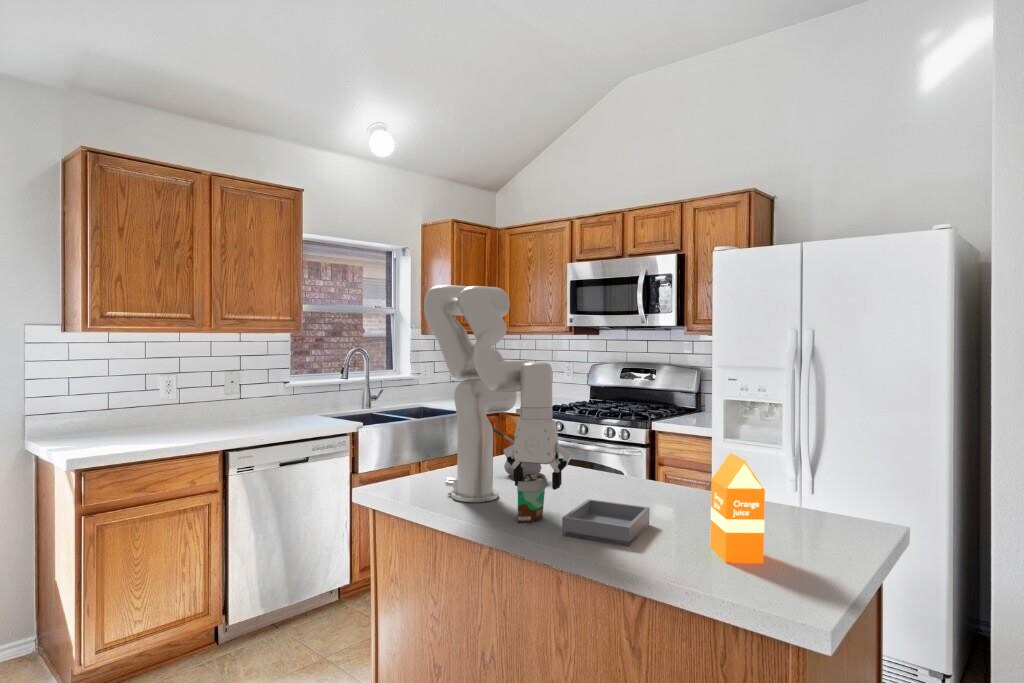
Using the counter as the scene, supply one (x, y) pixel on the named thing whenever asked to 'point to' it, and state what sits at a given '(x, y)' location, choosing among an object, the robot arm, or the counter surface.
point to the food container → (531, 497)
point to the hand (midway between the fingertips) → (537, 486)
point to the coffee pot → (507, 465)
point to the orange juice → (737, 513)
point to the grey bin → (606, 522)
